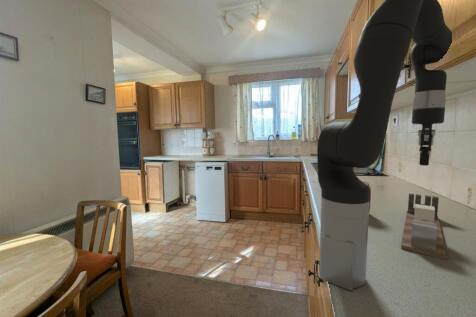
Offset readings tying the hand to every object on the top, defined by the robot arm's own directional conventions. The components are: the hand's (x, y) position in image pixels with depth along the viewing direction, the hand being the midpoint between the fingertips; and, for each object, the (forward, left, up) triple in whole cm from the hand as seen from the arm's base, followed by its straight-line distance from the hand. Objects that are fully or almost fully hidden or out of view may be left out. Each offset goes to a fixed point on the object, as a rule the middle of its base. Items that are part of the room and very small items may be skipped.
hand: (423, 165), depth 70 cm
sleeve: (-6, -1, -18) cm, 19 cm away
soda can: (+7, +18, -21) cm, 29 cm away
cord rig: (+1, -1, -21) cm, 21 cm away
